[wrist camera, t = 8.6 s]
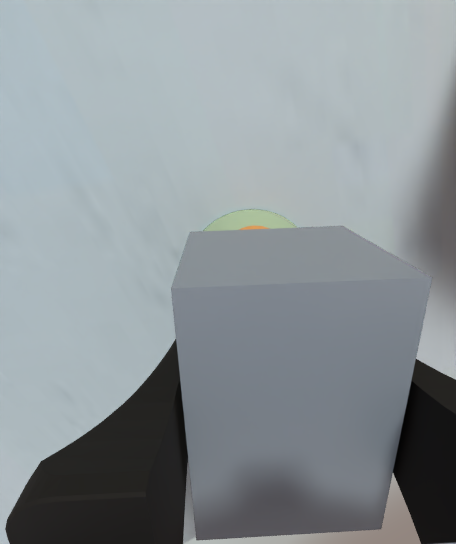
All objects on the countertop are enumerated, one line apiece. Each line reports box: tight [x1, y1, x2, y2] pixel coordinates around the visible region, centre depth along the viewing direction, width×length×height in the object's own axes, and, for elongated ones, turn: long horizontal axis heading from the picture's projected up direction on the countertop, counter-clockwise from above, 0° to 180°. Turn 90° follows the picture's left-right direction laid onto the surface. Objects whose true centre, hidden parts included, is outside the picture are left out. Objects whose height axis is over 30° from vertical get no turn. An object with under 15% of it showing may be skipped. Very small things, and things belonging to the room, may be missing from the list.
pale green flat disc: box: [203, 209, 297, 231], centre depth 20 cm, size 8×8×1 cm
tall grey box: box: [171, 226, 432, 540], centre depth 11 cm, size 9×6×6 cm
